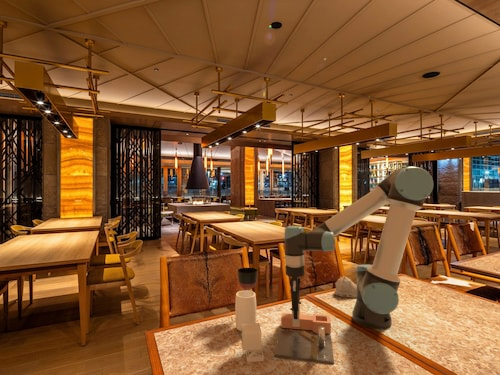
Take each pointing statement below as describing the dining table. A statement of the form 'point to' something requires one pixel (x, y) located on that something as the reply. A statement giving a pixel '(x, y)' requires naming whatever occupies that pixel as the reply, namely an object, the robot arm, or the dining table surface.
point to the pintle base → (305, 346)
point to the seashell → (345, 288)
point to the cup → (245, 308)
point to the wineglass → (247, 278)
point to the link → (307, 322)
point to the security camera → (252, 341)
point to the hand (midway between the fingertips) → (296, 323)
